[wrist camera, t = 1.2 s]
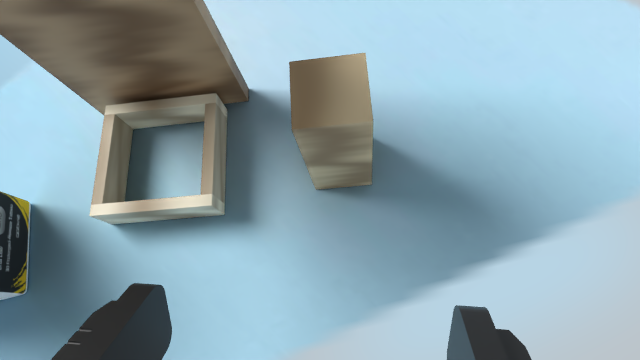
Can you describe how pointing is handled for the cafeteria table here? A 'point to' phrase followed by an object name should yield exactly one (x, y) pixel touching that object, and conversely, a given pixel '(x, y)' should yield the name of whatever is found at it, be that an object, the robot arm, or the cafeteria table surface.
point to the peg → (333, 119)
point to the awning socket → (137, 85)
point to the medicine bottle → (14, 245)
